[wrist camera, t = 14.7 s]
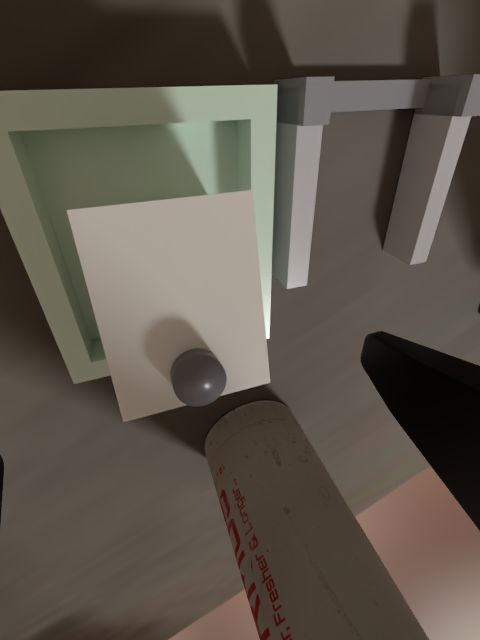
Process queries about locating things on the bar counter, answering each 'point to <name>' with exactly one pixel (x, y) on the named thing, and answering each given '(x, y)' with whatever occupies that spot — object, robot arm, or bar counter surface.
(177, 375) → the cream knobbed cube
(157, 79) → the bar counter surface
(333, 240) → the bar counter surface
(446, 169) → the dock
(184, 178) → the tray
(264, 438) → the thermos bottle
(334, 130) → the bar counter surface
